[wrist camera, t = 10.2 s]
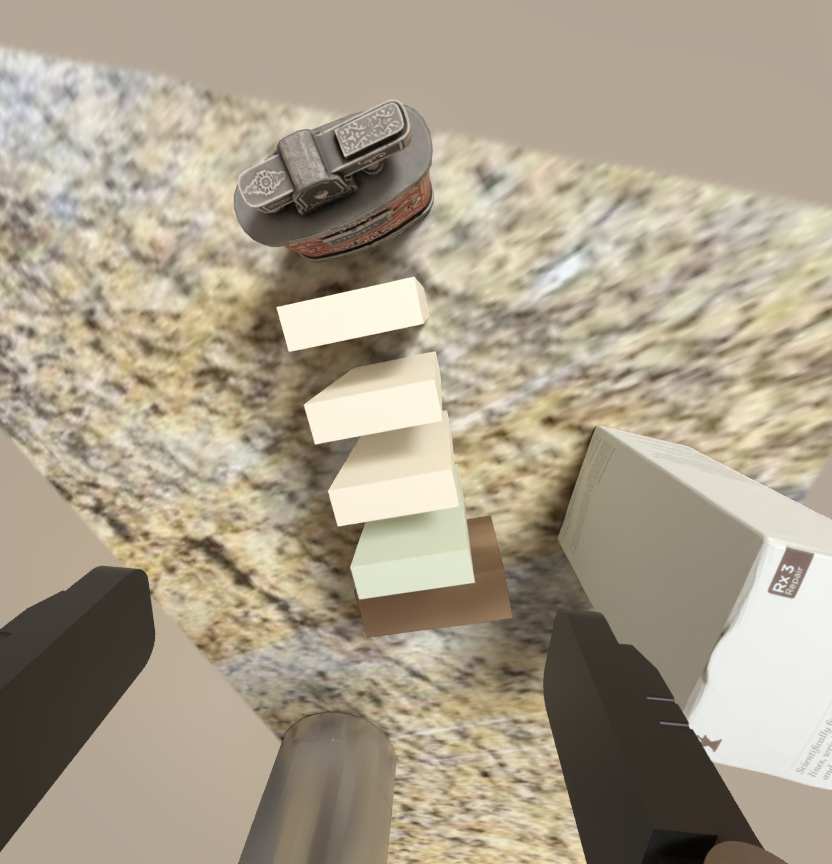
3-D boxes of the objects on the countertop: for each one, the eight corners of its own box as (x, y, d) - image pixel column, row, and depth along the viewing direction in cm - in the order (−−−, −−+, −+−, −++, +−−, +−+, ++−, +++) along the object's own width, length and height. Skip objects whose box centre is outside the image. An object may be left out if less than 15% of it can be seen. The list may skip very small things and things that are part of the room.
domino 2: (440, 378, 26) (442, 421, 16) (359, 394, 27) (315, 444, 17) (435, 351, 26) (434, 379, 16) (353, 367, 26) (303, 404, 16)
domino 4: (380, 477, 28) (350, 567, 18) (457, 464, 27) (468, 549, 18) (385, 500, 28) (359, 599, 19) (462, 487, 28) (474, 582, 18)
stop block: (497, 556, 29) (512, 617, 23) (380, 573, 30) (367, 637, 24) (490, 515, 28) (504, 569, 23) (370, 534, 29) (354, 591, 23)
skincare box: (638, 556, 29) (838, 806, 14) (549, 536, 29) (660, 768, 14) (689, 437, 26) (988, 594, 12) (592, 414, 26) (776, 546, 12)
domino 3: (451, 435, 27) (458, 506, 17) (372, 449, 27) (337, 526, 18) (446, 410, 27) (451, 469, 17) (367, 425, 27) (328, 490, 17)
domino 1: (429, 316, 25) (423, 323, 15) (345, 334, 26) (289, 351, 16) (423, 287, 25) (414, 276, 15) (338, 306, 25) (276, 307, 16)
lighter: (309, 275, 25) (228, 257, 15) (283, 214, 24) (179, 154, 14) (443, 217, 24) (447, 156, 14) (420, 150, 23) (408, 38, 13)
